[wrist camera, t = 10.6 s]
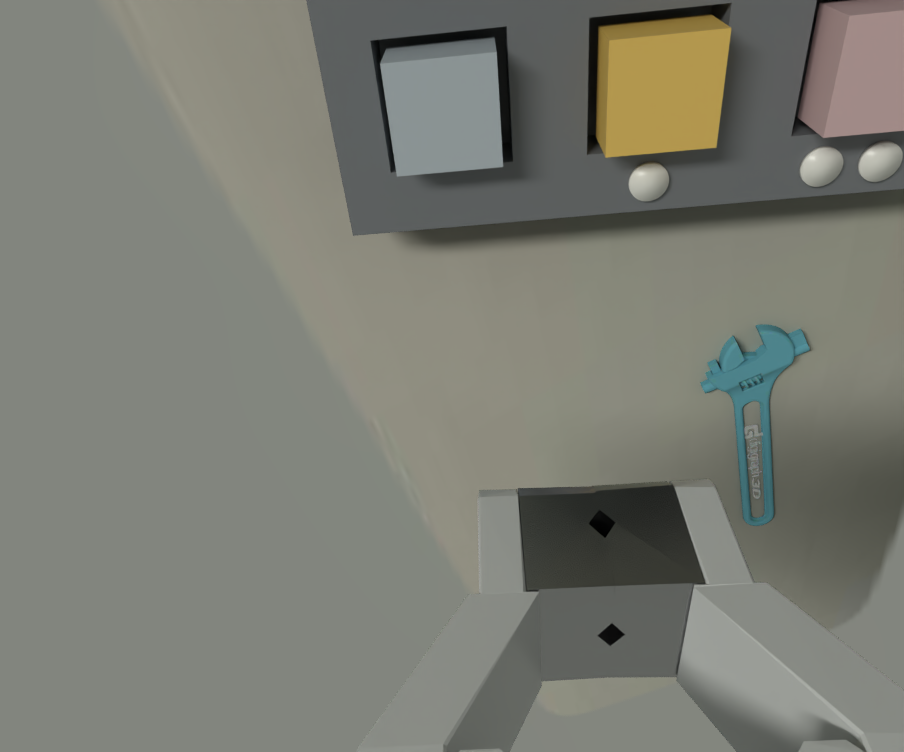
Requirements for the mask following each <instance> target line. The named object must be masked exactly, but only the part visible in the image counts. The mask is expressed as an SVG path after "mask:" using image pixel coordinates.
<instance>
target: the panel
mask: <svg viewBox="0 0 904 752" xmlns="http://www.w3.org/2000/svg"><path fill="white" fill-rule="evenodd" d="M306 1H307V6H308V11H309V16H310V21H311V26H312V31H313V36H314V41H315V46H316V51H317V56H318V61H319V66H320V71H321V76H322V81H323V86H324V91H325V96H326V101H327V106H328V112H329V117H330V122H331V127H332V132H333V137H334V142H335V147H336V152H337V157H338V162H339V167H340V172H341V177H342V182H343V187H344V192H345V197H346V202H347V207H348V212H349V217H350V222H351V227H352V232H353V236H354V235H366V234H378V233H390V232H401V231H413V230H425V229H437V228H448V227H460V226H472V225H484V224H496V223H507V222H519V221H531V220H543V219H554V218H566V217H578V216H590V215H602V214H613V213H625V212H637V211H649V210H660V209H672V208H684V207H696V206H707V205H719V204H731V203H743V202H755V201H766V200H778V199H790V198H802V197H813V196H825V195H837V194H849V193H861V192H872V191H884V190H896V189H904V131H894V132H883V133H872V134H861V135H850V136H839V137H828V138H823V137H821V136H820V135H819V134H818V133H816V132H815V131H814V130H813V129H812V128H810V127H809V126H808V125H807V124H805V123H804V122H803V121H802V120H800V119H799V118H798V113H799V108H800V102H801V97H802V92H803V87H804V81H805V76H806V71H807V66H808V60H809V55H810V50H811V45H812V40H813V34H814V29H815V24H816V19H817V13H818V8H819V3H822V2H832V1H841V0H306ZM707 14H711V15H713V16H714V17H716V18H717V19H719V20H720V21H722V22H723V23H725V24H726V25H728V26H729V27H731V36H730V44H729V52H728V59H727V67H726V75H725V83H724V91H723V99H722V107H721V115H720V123H719V131H718V139H717V146H716V148H707V149H696V150H685V151H674V152H663V153H652V154H641V155H630V156H619V157H608V158H605V155H604V153H603V151H602V149H601V147H600V144H599V142H598V140H597V138H596V103H597V60H598V26H601V25H611V24H620V23H630V22H640V21H649V20H659V19H668V18H678V17H688V16H697V15H707ZM486 37H494V38H495V44H496V51H497V67H498V85H499V102H500V120H501V138H502V156H503V167H498V168H487V169H476V170H465V171H454V172H443V173H431V174H420V175H409V176H398V177H397V174H396V167H395V160H394V154H393V147H392V140H391V134H390V127H389V120H388V114H387V107H386V100H385V94H384V87H383V80H382V74H381V67H380V63H381V60H382V58H383V55H384V53H385V50H386V48H390V47H399V46H409V45H419V44H428V43H438V42H447V41H457V40H467V39H476V38H486Z"/></svg>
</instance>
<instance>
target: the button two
mask: <svg viewBox="0 0 904 752" xmlns="http://www.w3.org/2000/svg"><path fill="white" fill-rule="evenodd" d="M798 118H799V119H800V120H802V121H803V122H804V123H805V124H807V125H808V126H809V127H810V128H812V129H813V130H814V131H815V132H816V133H818V134H819V135H820V136H821V137H823V138H828V137H839V136H850V135H861V134H872V133H883V132H894V131H904V0H841V1H832V2H822V3H819V8H818V13H817V19H816V24H815V29H814V34H813V40H812V45H811V50H810V55H809V60H808V66H807V71H806V76H805V81H804V87H803V92H802V97H801V102H800V108H799V113H798Z"/></svg>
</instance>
